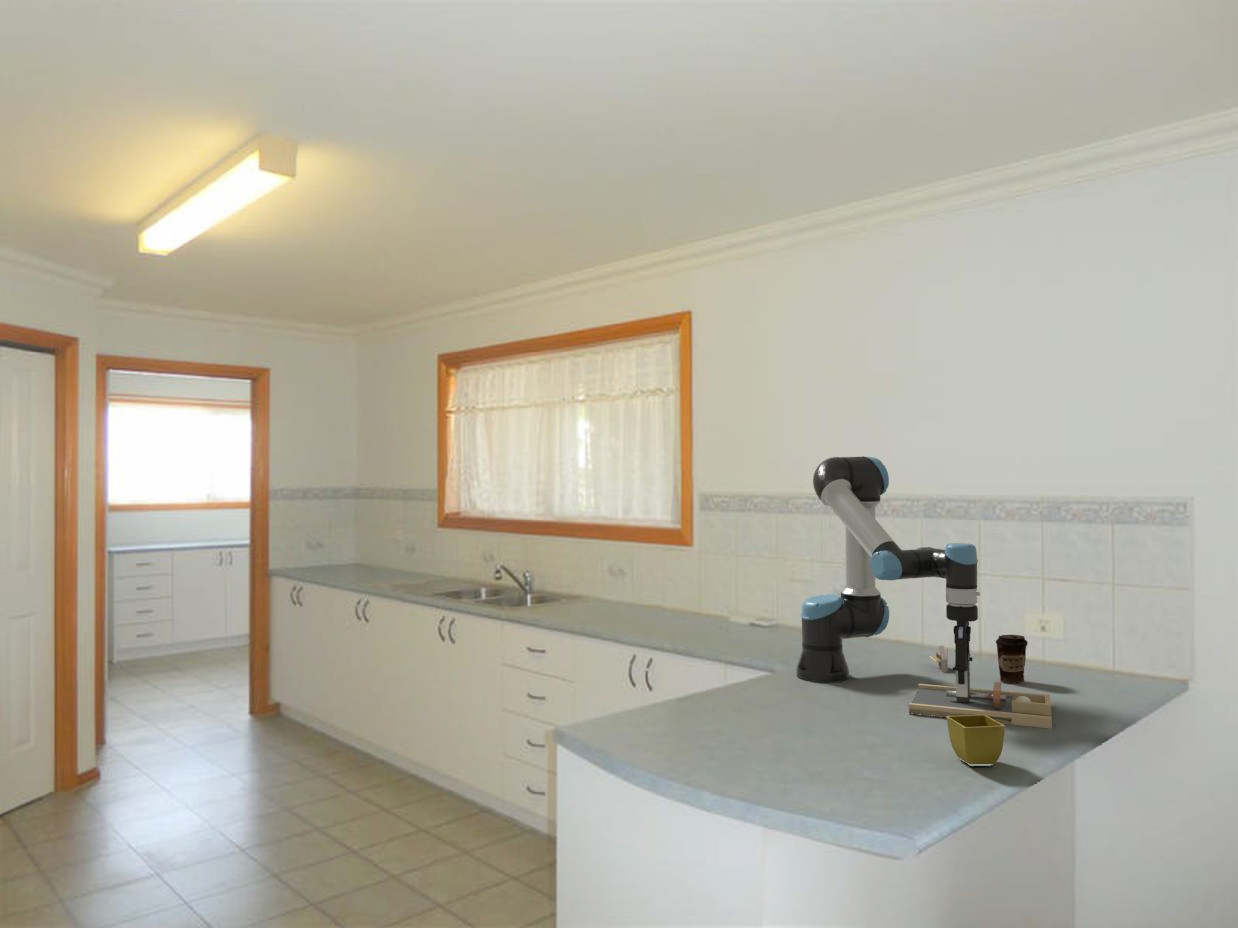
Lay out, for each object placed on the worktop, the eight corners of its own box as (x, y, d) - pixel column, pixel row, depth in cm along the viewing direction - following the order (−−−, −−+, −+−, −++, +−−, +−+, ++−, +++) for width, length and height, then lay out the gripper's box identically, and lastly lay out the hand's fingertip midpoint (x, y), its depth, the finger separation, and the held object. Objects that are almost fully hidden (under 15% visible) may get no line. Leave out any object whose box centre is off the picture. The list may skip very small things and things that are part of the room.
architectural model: (936, 672, 263) (935, 648, 263) (930, 667, 270) (929, 643, 270) (947, 673, 263) (947, 648, 263) (941, 667, 270) (941, 643, 270)
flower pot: (946, 757, 187) (945, 715, 187) (985, 755, 188) (984, 713, 188) (965, 771, 178) (965, 727, 178) (1006, 769, 179) (1006, 725, 179)
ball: (1034, 702, 216) (1029, 717, 216) (1034, 698, 219) (1029, 712, 220) (1017, 695, 217) (1012, 710, 218) (1017, 691, 221) (1012, 706, 221)
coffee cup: (1032, 686, 244) (1031, 639, 244) (1000, 685, 246) (999, 638, 246) (1024, 678, 253) (1023, 633, 253) (993, 677, 255) (992, 632, 255)
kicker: (945, 703, 222) (944, 656, 222) (948, 694, 230) (947, 649, 230) (1005, 709, 216) (1004, 660, 216) (1006, 700, 224) (1005, 653, 224)
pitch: (909, 714, 219) (908, 698, 219) (918, 692, 239) (918, 678, 239) (1051, 728, 206) (1051, 711, 206) (1049, 704, 226) (1049, 689, 226)
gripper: (975, 611, 213) (976, 703, 213) (979, 598, 233) (981, 682, 233) (942, 610, 216) (943, 700, 216) (949, 597, 236) (950, 679, 236)
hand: (963, 691), depth 224 cm, fingers open, 10 cm apart
